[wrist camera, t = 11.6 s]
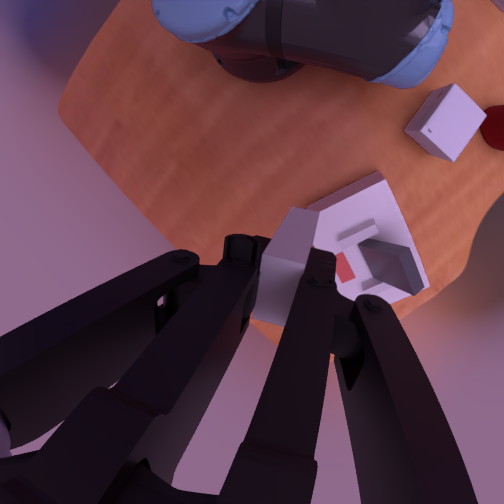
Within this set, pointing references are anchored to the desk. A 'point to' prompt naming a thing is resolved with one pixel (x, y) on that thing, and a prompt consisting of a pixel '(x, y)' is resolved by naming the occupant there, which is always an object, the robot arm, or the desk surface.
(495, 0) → the small box
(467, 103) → the small box
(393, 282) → the lever
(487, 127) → the beverage can
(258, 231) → the desk surface
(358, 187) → the breaker box
